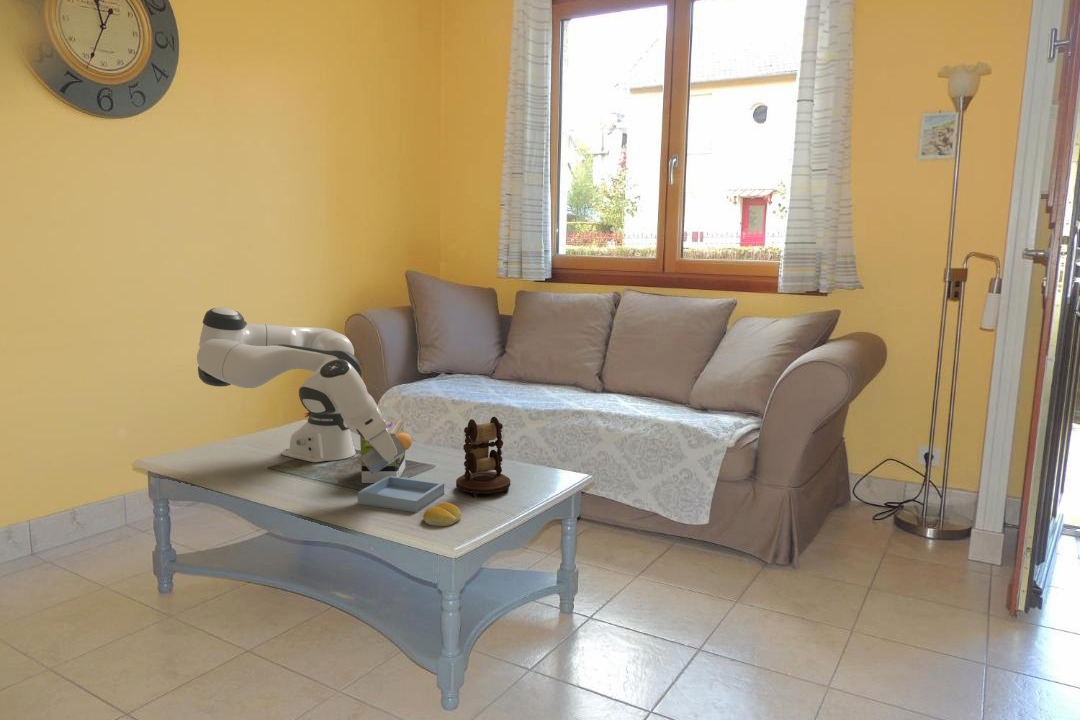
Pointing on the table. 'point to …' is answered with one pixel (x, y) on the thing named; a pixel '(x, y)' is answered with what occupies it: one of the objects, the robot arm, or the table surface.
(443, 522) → the bread roll
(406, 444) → the ball
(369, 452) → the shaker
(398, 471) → the tea box
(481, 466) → the wooden spool stand
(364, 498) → the tray
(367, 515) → the table surface
